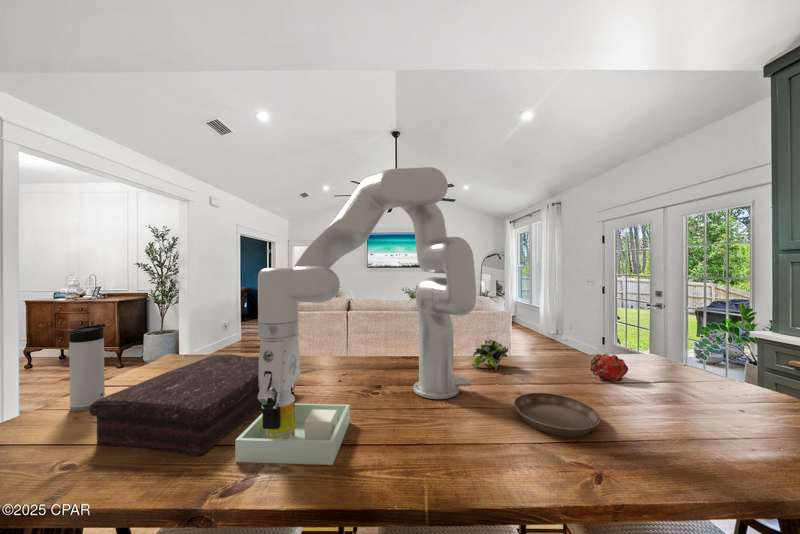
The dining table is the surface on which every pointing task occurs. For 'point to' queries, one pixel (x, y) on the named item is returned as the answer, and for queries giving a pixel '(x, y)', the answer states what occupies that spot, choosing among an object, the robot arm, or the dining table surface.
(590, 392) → the dining table surface
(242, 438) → the pale green tray
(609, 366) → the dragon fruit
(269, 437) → the supplement bottle
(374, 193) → the robot arm
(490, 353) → the green leafy plant
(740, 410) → the dining table surface
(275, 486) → the dining table surface
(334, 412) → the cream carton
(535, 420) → the plant saucer
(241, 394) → the folded brown towel
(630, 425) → the dining table surface
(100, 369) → the travel mug
